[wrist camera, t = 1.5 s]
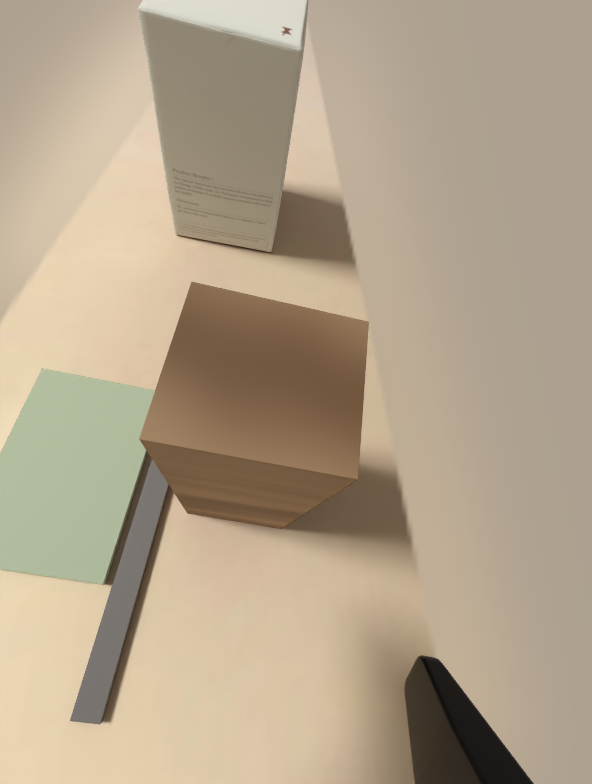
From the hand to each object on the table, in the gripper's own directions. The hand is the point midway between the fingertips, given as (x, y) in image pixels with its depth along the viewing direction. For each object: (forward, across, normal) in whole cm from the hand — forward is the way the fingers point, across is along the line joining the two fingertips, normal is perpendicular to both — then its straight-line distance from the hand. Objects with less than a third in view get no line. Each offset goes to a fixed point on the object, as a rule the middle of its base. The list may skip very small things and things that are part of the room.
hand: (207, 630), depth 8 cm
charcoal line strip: (+12, +4, +5) cm, 14 cm away
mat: (+12, +9, +6) cm, 16 cm away
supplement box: (+27, +6, -9) cm, 29 cm away
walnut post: (+13, 0, +5) cm, 13 cm away
